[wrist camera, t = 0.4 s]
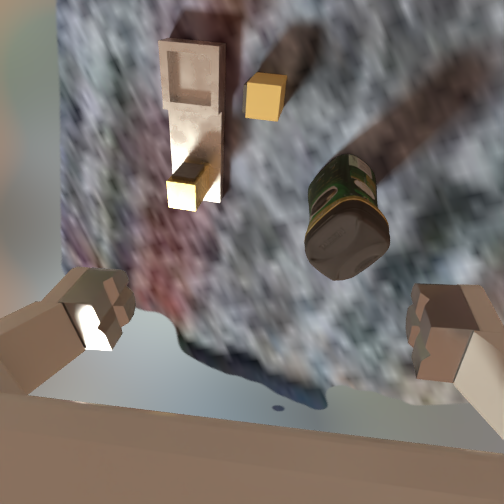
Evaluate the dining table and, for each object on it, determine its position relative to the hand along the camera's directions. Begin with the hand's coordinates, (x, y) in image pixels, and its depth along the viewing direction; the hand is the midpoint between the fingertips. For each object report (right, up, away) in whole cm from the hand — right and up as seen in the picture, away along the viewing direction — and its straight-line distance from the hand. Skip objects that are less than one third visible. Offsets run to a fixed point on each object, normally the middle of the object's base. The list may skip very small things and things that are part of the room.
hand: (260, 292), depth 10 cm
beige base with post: (-8, +20, +43) cm, 48 cm away
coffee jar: (+13, +11, +44) cm, 48 cm away
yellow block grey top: (+2, +23, +38) cm, 45 cm away
